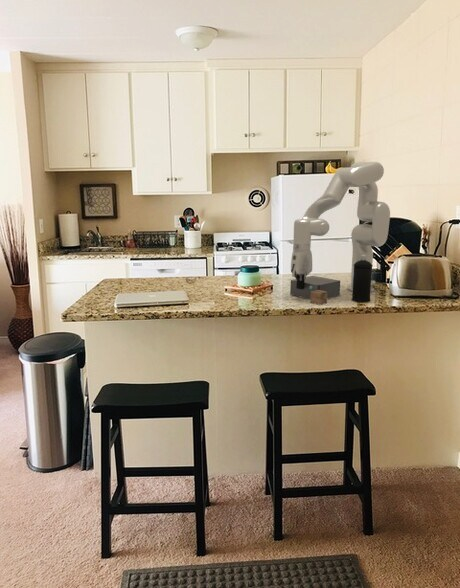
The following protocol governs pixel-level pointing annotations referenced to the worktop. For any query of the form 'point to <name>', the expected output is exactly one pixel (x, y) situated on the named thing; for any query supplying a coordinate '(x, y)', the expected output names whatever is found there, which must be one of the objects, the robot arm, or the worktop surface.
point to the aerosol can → (362, 280)
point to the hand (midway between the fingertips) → (300, 288)
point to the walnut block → (318, 297)
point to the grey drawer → (302, 292)
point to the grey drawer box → (325, 285)
